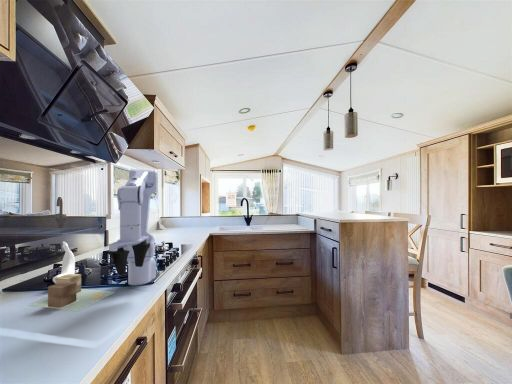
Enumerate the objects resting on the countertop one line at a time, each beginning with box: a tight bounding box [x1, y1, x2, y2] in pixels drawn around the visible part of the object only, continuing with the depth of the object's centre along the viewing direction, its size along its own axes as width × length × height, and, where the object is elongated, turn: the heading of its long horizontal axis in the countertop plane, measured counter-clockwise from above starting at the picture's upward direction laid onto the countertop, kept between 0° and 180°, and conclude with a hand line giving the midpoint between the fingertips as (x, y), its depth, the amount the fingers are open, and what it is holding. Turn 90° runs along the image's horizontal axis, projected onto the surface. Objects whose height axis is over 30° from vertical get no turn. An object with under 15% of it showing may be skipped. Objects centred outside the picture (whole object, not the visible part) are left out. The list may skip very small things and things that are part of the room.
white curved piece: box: [52, 241, 76, 285], centre depth 90 cm, size 5×19×15 cm, turn 31°
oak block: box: [56, 273, 82, 293], centre depth 79 cm, size 5×5×5 cm
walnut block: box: [47, 281, 77, 308], centre depth 71 cm, size 5×5×5 cm
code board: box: [27, 288, 116, 312], centre depth 75 cm, size 14×17×1 cm
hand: (130, 270), depth 75 cm, fingers open, 7 cm apart
